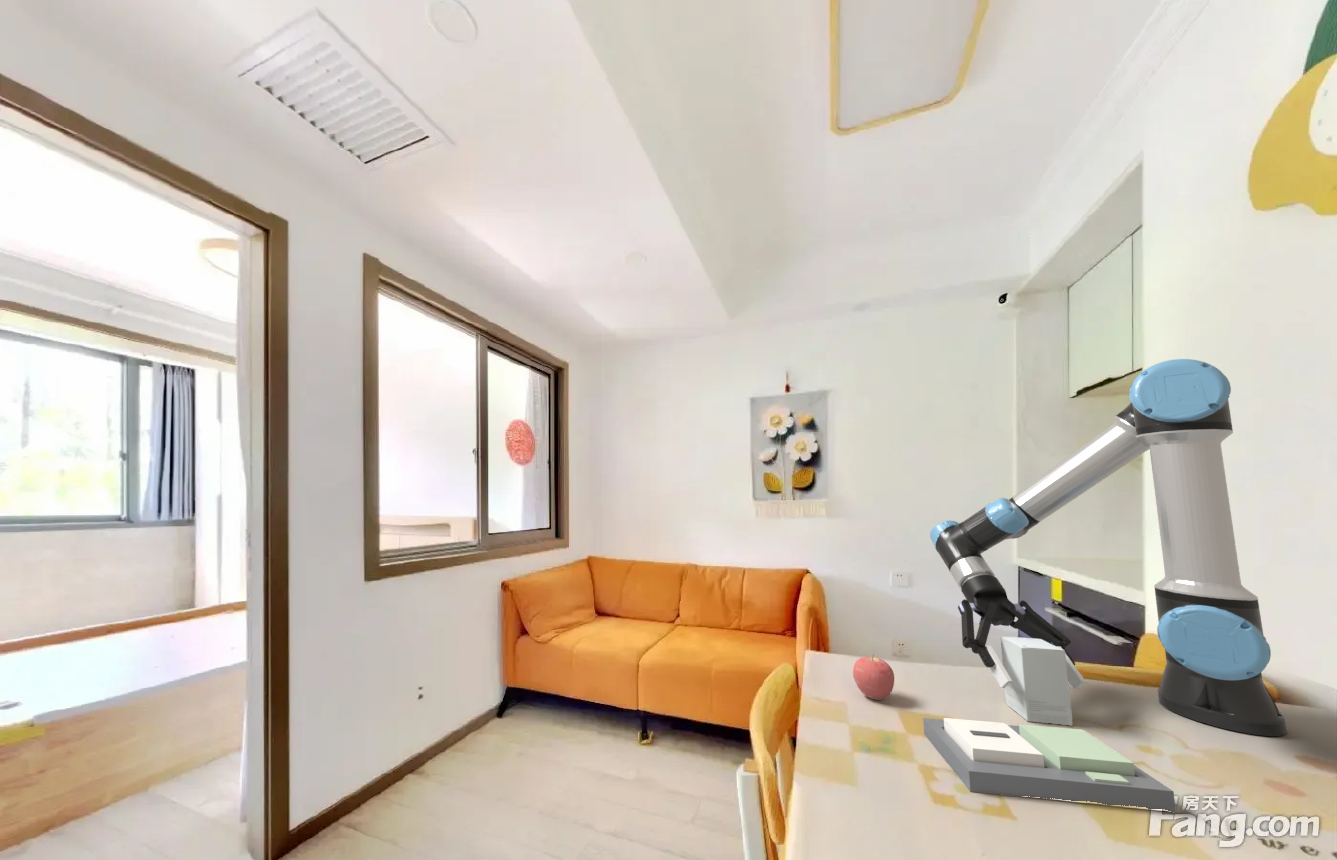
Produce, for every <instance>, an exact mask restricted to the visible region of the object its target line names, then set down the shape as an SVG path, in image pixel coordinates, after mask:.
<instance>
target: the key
mask: <svg viewBox="0 0 1337 860" xmlns="http://www.w3.org/2000/svg"><path fill="white" fill-rule="evenodd" d="M1018 726H1019V731H1020V736H1021V737H1022V738H1024V739H1025V740H1026V741H1027V742H1028V743H1030V744H1031V745H1032V746H1033V747H1034V748H1036V749H1037V750H1038V751H1039V752H1040V753H1042V754H1043V756H1044V757H1045V758H1047V759H1048V760H1049V761H1050V762H1051V763H1053V764H1054V765H1055V766H1056V767H1057V768H1059V769H1062V770H1072V771H1083V772H1085V771H1086V772H1096V773H1107V774H1117V775H1124V776H1135V771H1134V765H1135V764H1134V762H1132V760H1129V759H1128V758H1127V757H1125V756H1123V755H1122V754H1120V753H1119V752H1118V751H1116V750H1114V749H1113V748H1112V747H1110V746H1108V745H1107V744H1105V742H1103V741H1101V740H1100V739H1098V738H1096V737H1095V736H1094V735H1092V734H1090V733H1089V732H1087V731H1086V730H1085V729H1080V728H1079V729H1078V728H1067V727H1055V726H1046V725H1045V726H1044V725H1032V724H1031V725H1030V724H1020V723H1019V724H1018Z"/></svg>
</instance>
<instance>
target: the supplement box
mask: <svg viewBox="0 0 1337 860" xmlns="http://www.w3.org/2000/svg"><path fill="white" fill-rule="evenodd" d="M1052 644H1053V643H1051V644H1050V643H1048V642H1046V641H1044V640H1042V639H1035V638H1031V637H1030V638H1029V637H1021V636H1020V637H1018V636H1002V635H1001V636H1000V645H1001V658H1002V665H1003V666H1004V668H1005V670H1006V671H1007V673H1008V675H1009V676H1010V678H1011V680H1012V682H1011V683H1010V684H1009V685H1008V686H1006V687H1005V688H1004V693H1005V694H1004V695H1005V704H1006V706H1008V707H1009V708H1010V709H1012V710H1013V711H1014V712H1016V713H1017V714H1018V715H1019V716H1020V717H1022V718H1023V720H1026V721H1027V722H1031V723H1039V722H1041V723H1040V724H1048V723H1053V724H1052V725H1057V724H1062V725H1061V726H1066V725H1069V726H1068V727H1073V724H1074V723H1073V715H1072V714H1073V713H1072V703H1071V697H1070V696H1071V695H1070V694H1071V693H1070V686H1069V685H1070V683H1069V681H1068V675H1067V666H1066V657H1065V650H1066V649H1065V650H1063V649H1061V648H1058V647H1056V646H1054V645H1052Z"/></svg>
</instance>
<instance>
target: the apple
mask: <svg viewBox="0 0 1337 860" xmlns="http://www.w3.org/2000/svg"><path fill="white" fill-rule="evenodd" d="M852 669H853V670H852V675H853V679H854V682H855V684H856V685H857V687H858V689H859V690H860V692H861V693H862V694H863V695H864V696H865V697H867V698H869V699H873V700H877V701H878V700H879V701H880V700H884V699H886V698H887V697H889V695H890V694H891V693H892V691H893V689H894V685H895V673H894V671H893V670H894V669H892V667H891V665H889V663H887V662H886V661H885V660H884V659H882V658H879V657H875V654H873V655H872V656H862V657H860V658H858V659H857V660H856V661H855V662H854V664H853V668H852Z"/></svg>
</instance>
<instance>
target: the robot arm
mask: <svg viewBox="0 0 1337 860" xmlns="http://www.w3.org/2000/svg"><path fill="white" fill-rule="evenodd" d="M1231 389H1232V388H1231V383H1230V381H1229V379H1228V377H1227V376H1226V375H1225V374H1224V372H1222V371H1221V370H1220V368H1217V367H1216V366H1214V365H1212V364H1210V363H1208V362H1205V361H1202V360H1196V359H1190V358H1176V359H1169V360H1163V361H1161V362H1158V363H1155V364H1153V365H1151V366H1149V367H1147V368H1146V369H1144V370H1143V371H1141V372H1140V373H1139V374H1138V375H1137V376H1136V377H1135V378H1134V380H1133V382H1132V384H1131V385H1130V388H1129V392H1128V393H1129V394H1128V395H1129V401H1130V403H1129V404H1128V405H1127V406H1126V407H1125V408H1124V409H1123V410H1122V411H1120V412H1118V413H1117V414H1116V415H1115V416H1114V417H1113V424H1111V425H1110V426H1108V427H1107V428H1106V429H1104V430H1103V431H1102V432H1100V433H1099V434H1097V435H1096V436H1095V437H1093V438H1092V439H1090V440H1089V441H1088V442H1086V443H1085V444H1083V445H1082V446H1081V447H1080V448H1078V449H1076V450H1075V451H1073V453H1071V454H1069V456H1067V457H1066V458H1064V459H1063V460H1062V461H1060V462H1059V463H1057V464H1056V465H1055V466H1053V467H1052V468H1051V469H1049V470H1048V471H1046V472H1045V473H1044V474H1042V475H1041V476H1040V477H1038V478H1037V479H1035V480H1034V481H1032V483H1030V484H1029V485H1027V486H1026V487H1024V488H1023V489H1021V490H1020V491H1019V492H1017V493H1016V494H1014V495H1013V496H1012V497H1010V498H1009V499H1007V497H1006V498H1005V497H1000V498H998V499H996V500H994V501H992V502H990V503H987V504H986V506H984V507H983V508H981V509H980V510H978V511H977V512H975V513H974V514H972V515H971V516H970V517H968V518H966V519H965V520H964V521H962V522H958V521H955V520H944V521H943V522H938V523H937V524H935V525H934V526H933V527H932V528H931V530H930V531H929V532H930V533H929V537H930V540H931V542H932V544H933V546H934V549H935V550H936V552H937V553H938V555H939V556H940V558H941V559H942V561H943V562H944V564H945V566H946V567H947V569H948V571H949V573H950V575H951V576H952V578H953V580H954V582H955V583H956V585H957V586H958V588H959V589H961V593H962V595H963V597H965V599H962V601H961V602H960V603H959V604H958V606H957V609H958V612H959V613H960V616H961V617H960V618H961V620H960V621H961V638H962V639H961V640H962V641H961V642H962V643H961V644H962V646H963V647H964V648H965V649H969V648H970V649H971V651H972V653H974V654H976V655H977V654H978V656H979V657H980V660H981V661H982V663H983V665H984V666H985V667H986V668H989V670H990V671H991V673H992V675H993V677H994V679H995V680H996V682H997V683H998V685H999V687H1000V688H1001V689H1005V687H1006V686H1008V685H1009V684H1010V683H1011V682H1012V680H1011V678H1010V676H1009V675H1008V673H1007V671H1006V670H1005V668H1004V666H1003V662H1002V661H1001V660H1000V658H999V657H998V655H997V653H996V652H995V650H994V648H993V646H992V645H986V644H987V641H988V637H989V633H990V631H991V630H990V629H991V626H992V625H993V626H994V627H995V626H996V627H997V626H998V627H999V626H1005V627H1006V626H1007V627H1009V626H1010V627H1011V628H1013V629H1015V630H1019V631H1020V632H1023V634H1025V635H1027V636H1029V637H1030V638H1035V639H1042V640H1044V641H1046V642H1048V643H1050V644H1052V645H1054V646H1056V647H1058V648H1061V649H1063V650H1065V657H1066V666H1067V675H1068V684H1069V685H1070V686H1071V687H1072V689H1074V690H1076V689H1079V688H1080V687H1081V686H1083V685H1084V684H1085V683H1086V682H1087V681H1086V680H1085V679H1084V677H1083V675H1082V674H1081V673H1080V672H1079V670H1078V668H1077V667H1076V662H1075V661H1074V659H1073V658H1072V656H1071V655H1070V654H1069V652H1068V650H1066V648H1067V647H1068V646H1069V645H1070V644H1071V643H1072V642H1071V640H1070V638H1068V637H1067V636H1066V635H1065V634H1063V633H1062V632H1061V631H1059V630H1058V629H1057V628H1056V627H1055V626H1053V625H1052V624H1051V623H1049V621H1047V620H1046V619H1044V617H1042V616H1041V615H1040V614H1039V613H1037V612H1036V611H1035V610H1033V608H1032V607H1031V606H1030V605H1029V603H1028V602H1027V601H1025V600H1020V601H1019V602H1017V603H1013V602H1012V601H1011V600H1010V599H1009V598H1008V595H1007V591H1006V589H1005V588H1004V587H1003V585H1002V584H1001V582H1000V580H999V579H998V578H997V577H996V576H995V575H996V574H995V573H994V572H993V570H992V569H991V567H990V566H989V565H988V563H987V562H986V560H985V559H984V557H983V555H982V554H983V553H984V552H986V551H988V550H989V549H991V548H993V547H994V546H996V545H998V544H1000V543H1002V542H1004V541H1005V540H1009V539H1020V538H1021V537H1022V536H1024V535H1026V534H1027V533H1028V531H1029V530H1030V529H1033V527H1035V526H1036V525H1038V524H1039V523H1041V522H1042V521H1044V520H1045V519H1046V518H1048V517H1050V516H1051V515H1052V514H1054V513H1055V512H1057V511H1059V510H1061V508H1063V507H1064V506H1067V505H1068V504H1069V503H1071V502H1072V501H1074V500H1076V499H1077V498H1078V497H1079V496H1080V497H1081V495H1082V494H1084V493H1085V492H1087V491H1089V490H1090V489H1091V488H1094V486H1096V485H1097V484H1099V483H1101V482H1102V481H1103V480H1106V479H1107V478H1108V477H1110V476H1111V475H1113V474H1114V473H1116V472H1117V471H1119V470H1120V469H1122V468H1123V467H1125V466H1126V465H1128V464H1129V463H1130V462H1132V461H1133V460H1135V459H1137V458H1138V457H1140V456H1141V455H1142V454H1145V452H1147V451H1149V455H1150V463H1151V471H1152V478H1153V479H1152V481H1153V487H1154V488H1153V489H1154V495H1155V504H1156V511H1157V521H1158V528H1159V536H1160V542H1161V543H1160V545H1161V551H1162V552H1161V553H1162V560H1163V568H1164V570H1163V571H1164V578H1162V579H1161V580H1159V581H1158V582H1156V583H1155V584H1154V586H1153V587H1154V593H1155V594H1154V595H1155V602H1156V603H1155V605H1156V611H1157V613H1156V614H1157V619H1158V620H1157V622H1158V624H1157V629H1156V630H1157V638H1158V639H1159V642H1160V643H1161V645H1162V647H1163V648H1164V653H1165V661H1166V665H1165V667H1164V670H1163V674H1162V677H1161V681H1160V685H1159V686H1158V688H1157V694H1158V695H1157V696H1158V702H1159V704H1160V703H1161V704H1162V705H1163V707H1164V706H1165V707H1166V709H1167V708H1168V709H1167V710H1169V711H1171V712H1173V713H1175V714H1178V715H1180V716H1182V717H1185V718H1187V719H1191V720H1193V721H1196V722H1199V723H1202V722H1203V724H1205V723H1206V725H1210V726H1214V727H1217V728H1220V729H1223V730H1224V729H1225V730H1230V731H1234V732H1238V733H1243V734H1249V735H1257V736H1265V737H1266V736H1268V737H1280V736H1285V735H1287V733H1288V730H1287V724H1286V720H1285V719H1286V718H1285V717H1284V715H1283V713H1281V712H1280V711H1279V709H1278V707H1277V704H1276V702H1275V700H1274V699H1273V697H1272V695H1271V693H1270V692H1269V690H1268V688H1267V687H1266V685H1265V683H1264V680H1263V676H1262V672H1263V671H1264V670H1265V669H1266V667H1268V664H1269V663H1270V661H1271V657H1272V656H1271V654H1272V653H1271V646H1270V644H1269V643H1268V641H1267V638H1266V637H1265V636H1264V630H1263V624H1262V623H1263V622H1262V616H1261V611H1260V604H1259V598H1258V596H1256V594H1254V593H1253V592H1251V591H1250V590H1248V589H1247V588H1245V586H1243V584H1242V581H1241V580H1242V579H1241V574H1240V573H1241V572H1240V566H1239V560H1238V554H1237V553H1238V552H1237V547H1236V540H1235V532H1234V526H1233V519H1232V512H1231V505H1230V497H1229V492H1228V484H1227V477H1226V472H1225V470H1226V469H1225V466H1224V465H1225V463H1224V457H1223V450H1222V449H1223V448H1222V443H1223V441H1225V440H1226V439H1227V438H1228V437H1230V436H1231V435H1232V434H1234V430H1233V424H1232V417H1231V409H1230V404H1229V398H1230V395H1231V392H1232V390H1231ZM973 612H974V613H976V614H977V615H978V616H979V617H980V620H979V623H978V629H977V632H976V637H975V627H974V625H975V624H974V613H973ZM1015 619H1017V620H1016V621H1015ZM1161 704H1160V705H1161ZM1162 705H1161V706H1162ZM1165 707H1164V708H1165Z"/></svg>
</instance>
